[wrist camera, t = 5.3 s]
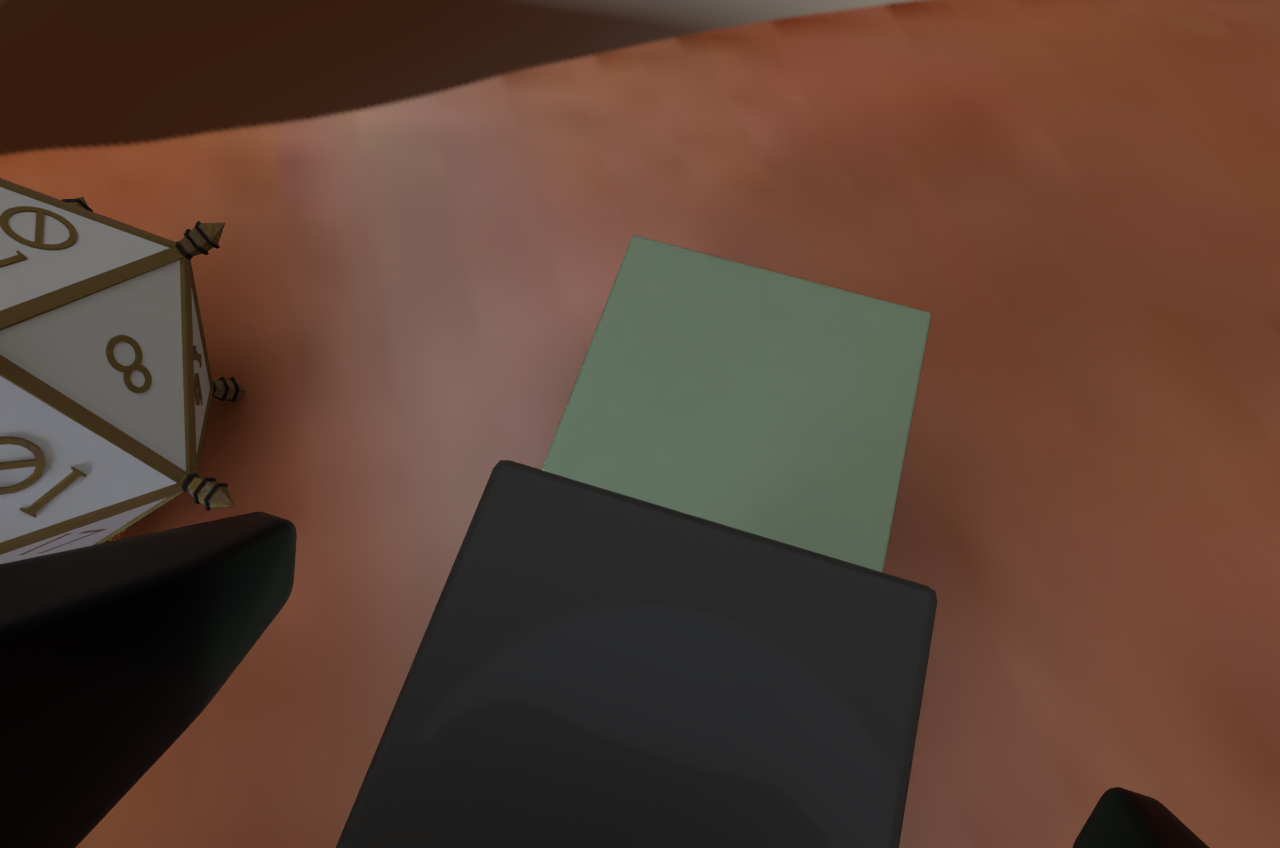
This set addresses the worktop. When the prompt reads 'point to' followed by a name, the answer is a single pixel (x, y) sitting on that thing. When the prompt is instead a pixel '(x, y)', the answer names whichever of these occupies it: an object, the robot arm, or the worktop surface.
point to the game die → (97, 374)
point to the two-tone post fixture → (681, 591)
